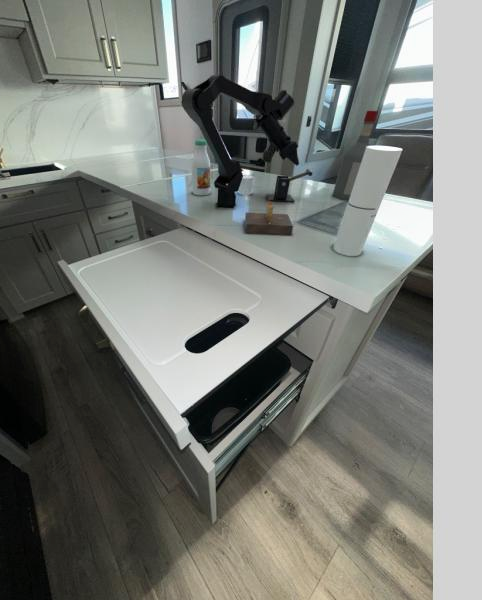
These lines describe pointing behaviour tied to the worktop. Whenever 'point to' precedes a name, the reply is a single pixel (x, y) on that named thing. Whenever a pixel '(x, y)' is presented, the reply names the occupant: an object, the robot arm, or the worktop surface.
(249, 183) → the shot glass
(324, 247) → the worktop surface
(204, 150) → the milk bottle
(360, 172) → the cylindrical container
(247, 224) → the brown flat block
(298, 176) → the latch
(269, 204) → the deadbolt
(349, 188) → the liquor
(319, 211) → the worktop surface
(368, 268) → the worktop surface
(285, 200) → the latch bracket
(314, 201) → the worktop surface
